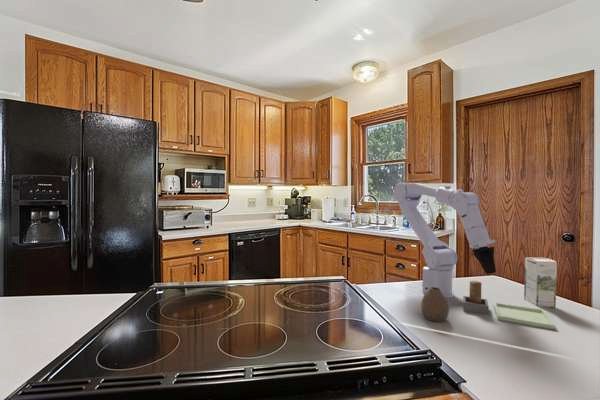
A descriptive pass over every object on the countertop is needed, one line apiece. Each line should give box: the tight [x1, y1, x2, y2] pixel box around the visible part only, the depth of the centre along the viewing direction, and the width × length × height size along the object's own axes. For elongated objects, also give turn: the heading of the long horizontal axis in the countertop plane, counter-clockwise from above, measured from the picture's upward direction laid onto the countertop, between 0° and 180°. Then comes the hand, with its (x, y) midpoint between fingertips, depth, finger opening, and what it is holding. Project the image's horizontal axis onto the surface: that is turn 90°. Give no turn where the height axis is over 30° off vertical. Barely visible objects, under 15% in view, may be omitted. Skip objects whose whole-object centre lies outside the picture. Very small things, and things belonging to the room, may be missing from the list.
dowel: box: [469, 280, 482, 304], centre depth 87 cm, size 3×3×8 cm
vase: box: [420, 287, 450, 323], centre depth 80 cm, size 7×7×9 cm
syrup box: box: [523, 256, 558, 309], centre depth 92 cm, size 6×6×14 cm
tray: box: [492, 301, 556, 331], centre depth 81 cm, size 12×12×2 cm
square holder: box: [462, 295, 490, 316], centre depth 87 cm, size 6×6×3 cm
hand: (490, 273), depth 86 cm, fingers open, 7 cm apart
